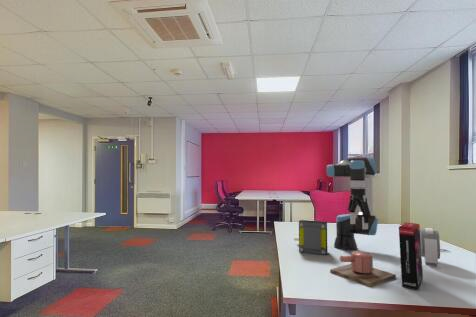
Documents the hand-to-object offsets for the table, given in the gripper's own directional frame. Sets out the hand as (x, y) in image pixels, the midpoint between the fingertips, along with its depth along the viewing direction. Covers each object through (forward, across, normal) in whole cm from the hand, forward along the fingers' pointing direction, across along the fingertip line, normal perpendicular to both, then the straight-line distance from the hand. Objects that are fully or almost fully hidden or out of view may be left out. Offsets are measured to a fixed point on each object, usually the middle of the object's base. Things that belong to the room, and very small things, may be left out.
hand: (358, 226), depth 148 cm
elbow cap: (+20, -10, +7) cm, 23 cm away
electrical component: (+23, +31, +16) cm, 42 cm away
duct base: (+22, -11, +4) cm, 25 cm away
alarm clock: (+24, +6, -46) cm, 52 cm away
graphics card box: (+22, -22, -14) cm, 34 cm away
